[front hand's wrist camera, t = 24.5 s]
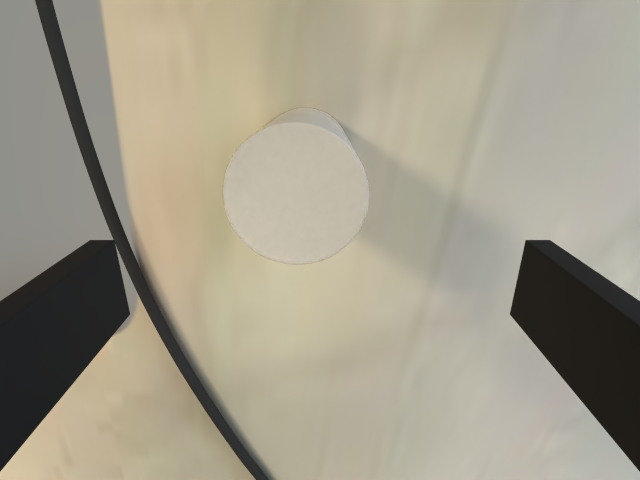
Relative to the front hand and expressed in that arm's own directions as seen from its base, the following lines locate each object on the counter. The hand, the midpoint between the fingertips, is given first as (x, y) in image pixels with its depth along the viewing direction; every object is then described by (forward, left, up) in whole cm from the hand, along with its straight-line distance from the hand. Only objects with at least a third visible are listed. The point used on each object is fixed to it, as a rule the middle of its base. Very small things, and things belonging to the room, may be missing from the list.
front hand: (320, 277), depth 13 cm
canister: (-1, 0, -19) cm, 19 cm away
